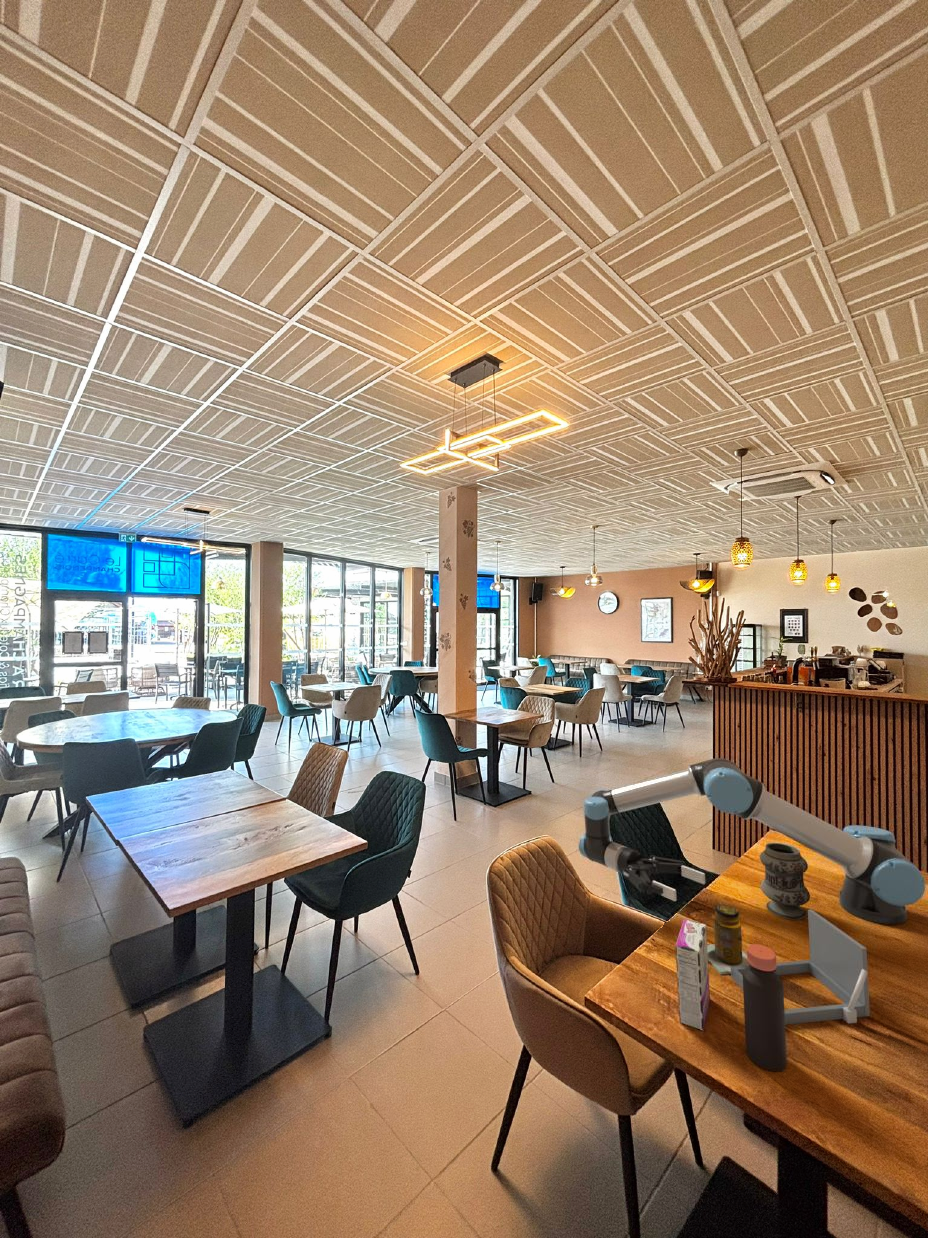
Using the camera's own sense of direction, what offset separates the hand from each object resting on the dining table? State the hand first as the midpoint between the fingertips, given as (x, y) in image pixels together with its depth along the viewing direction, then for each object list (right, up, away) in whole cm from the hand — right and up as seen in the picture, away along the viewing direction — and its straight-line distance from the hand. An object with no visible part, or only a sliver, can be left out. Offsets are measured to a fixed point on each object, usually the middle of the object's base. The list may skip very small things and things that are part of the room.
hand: (690, 887), depth 134 cm
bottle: (-2, -13, -37) cm, 40 cm away
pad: (+5, -13, -9) cm, 17 cm away
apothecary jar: (+33, -13, +12) cm, 37 cm away
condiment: (+5, -13, -9) cm, 17 cm away
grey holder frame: (+14, -13, -21) cm, 28 cm away
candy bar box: (-10, -14, -25) cm, 30 cm away
